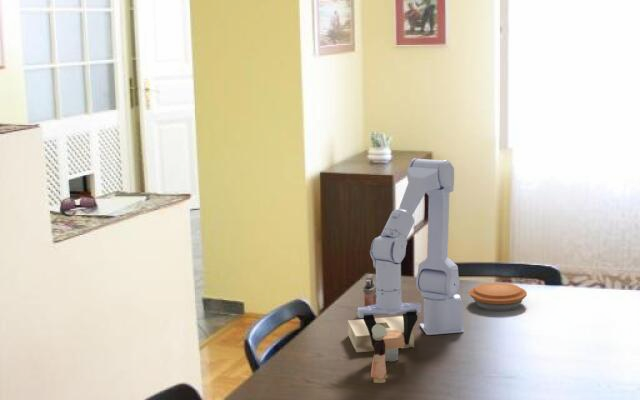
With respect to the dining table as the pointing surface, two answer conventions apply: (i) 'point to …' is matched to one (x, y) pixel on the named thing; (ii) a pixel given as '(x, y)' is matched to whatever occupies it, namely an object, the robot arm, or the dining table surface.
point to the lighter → (370, 291)
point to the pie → (498, 296)
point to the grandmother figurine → (379, 354)
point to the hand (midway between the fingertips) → (390, 344)
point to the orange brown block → (393, 344)
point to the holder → (362, 337)
